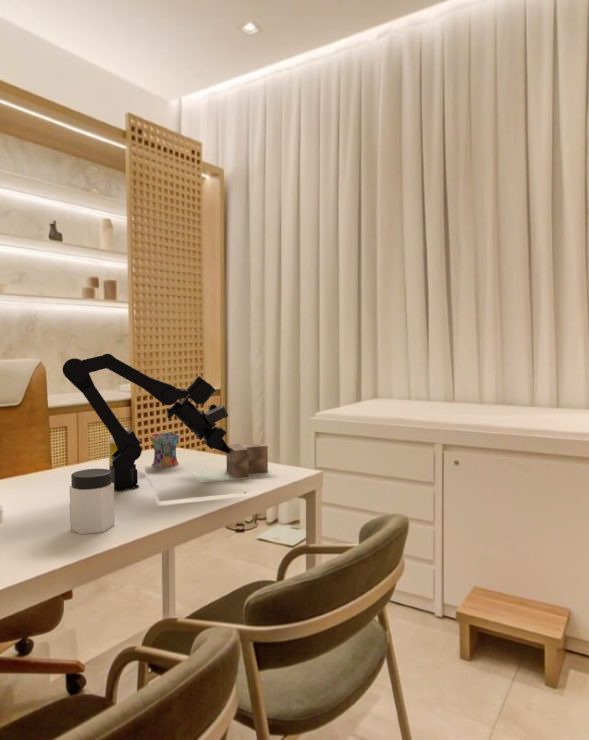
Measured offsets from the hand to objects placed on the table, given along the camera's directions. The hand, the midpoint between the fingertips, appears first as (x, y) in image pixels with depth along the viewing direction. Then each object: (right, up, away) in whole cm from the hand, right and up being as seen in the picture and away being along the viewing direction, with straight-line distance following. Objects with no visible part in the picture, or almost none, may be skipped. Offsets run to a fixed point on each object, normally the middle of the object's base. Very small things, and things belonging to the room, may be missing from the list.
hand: (229, 452), depth 159 cm
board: (+2, -8, +1) cm, 8 cm away
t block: (+5, -7, +2) cm, 9 cm away
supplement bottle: (-36, -7, +12) cm, 39 cm away
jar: (-24, -10, -43) cm, 50 cm away
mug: (-22, -7, +15) cm, 28 cm away
